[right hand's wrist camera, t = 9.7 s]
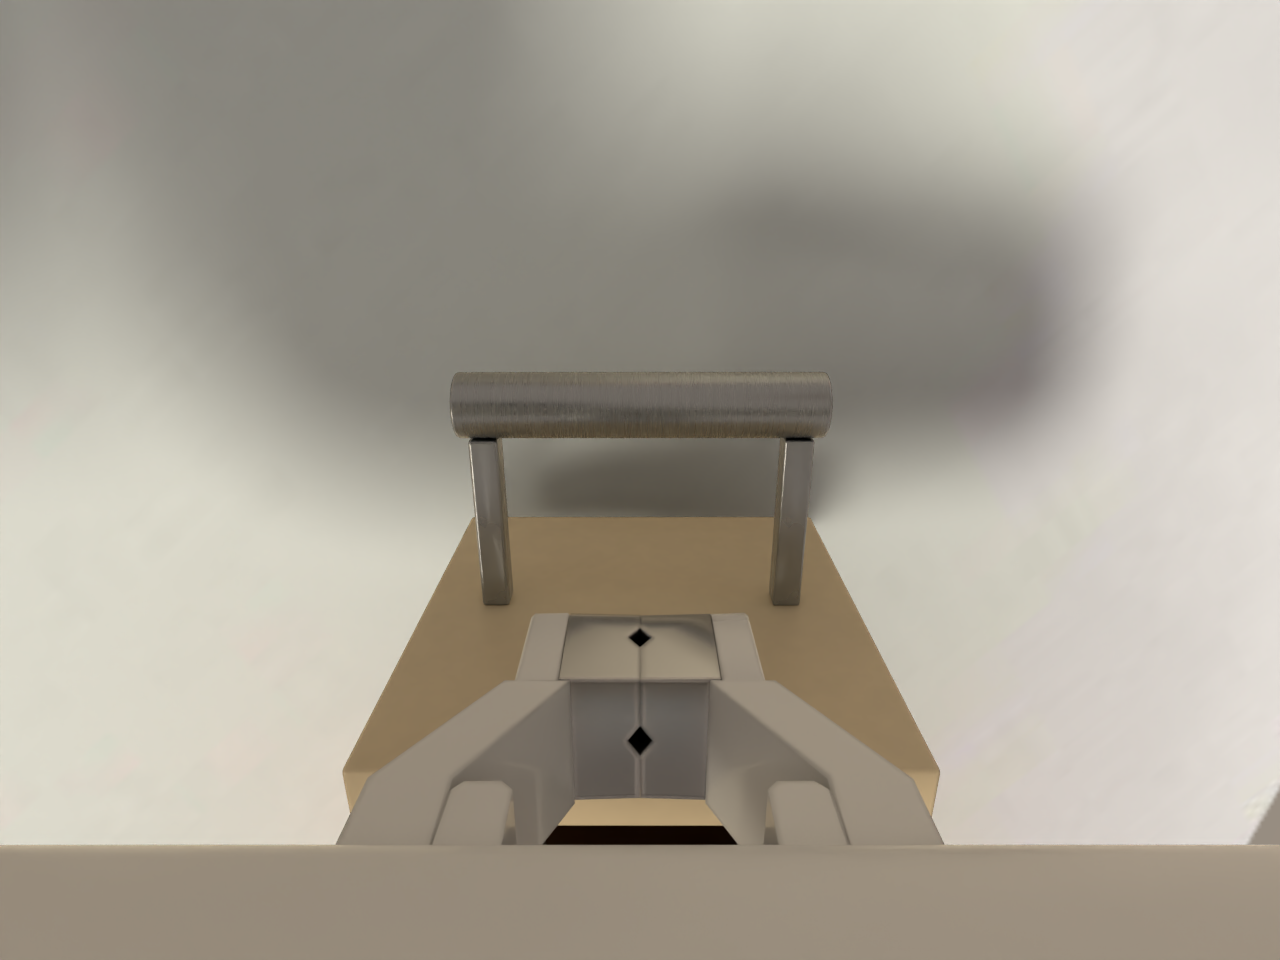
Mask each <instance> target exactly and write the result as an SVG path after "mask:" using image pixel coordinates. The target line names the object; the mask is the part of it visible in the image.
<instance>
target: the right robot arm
mask: <svg viewBox="0 0 1280 960" xmlns="http://www.w3.org/2000/svg"><path fill="white" fill-rule="evenodd" d="M624 798H655V799H691V800H705V803H706V804H707V806H708V807H709V808H710V810H711V811H712V812H713V813H714V815H715V816H716V817H717V818H718V820H719V821H720V822H721V824H722V825H723V826H724V827H725V829H726V830H727V831H728V832H729V834H730V835H731V836H732V838H733V839H734V840H735V841H736V843H737V844H738V845H542V844H543V843H544V842H545V841H546V839H547V838H548V837H549V836H550V834H551V833H552V832H553V830H554V829H555V828H556V827H557V825H558V824H559V823H560V822H561V820H562V819H563V818H564V817H565V815H566V814H567V813H568V812H569V810H570V809H571V808H572V806H573V805H574V804H575V800H589V799H624ZM0 960H1280V845H944V843H943V841H942V838H941V836H940V834H939V832H938V830H937V828H936V826H935V824H934V821H933V819H932V817H931V815H930V813H929V811H928V809H927V807H926V805H925V802H924V800H923V798H922V796H921V794H920V792H919V790H918V788H917V786H916V783H915V781H914V779H913V778H911V777H910V776H909V775H907V774H906V773H904V772H903V771H902V770H900V769H899V768H897V767H896V766H895V765H893V764H892V763H890V762H889V761H888V760H886V759H885V758H883V757H882V756H881V755H879V754H878V753H876V752H875V751H874V750H872V749H871V748H869V747H868V746H867V745H865V744H864V743H862V742H861V741H860V740H858V739H857V738H855V737H854V736H853V735H851V734H850V733H848V732H847V731H846V730H844V729H843V728H841V727H840V726H839V725H837V724H836V723H834V722H833V721H832V720H830V719H829V718H827V717H826V716H825V715H823V714H822V713H820V712H819V711H818V710H816V709H815V708H813V707H812V706H811V705H809V704H808V703H806V702H805V701H804V700H802V699H801V698H799V697H798V696H797V695H795V694H794V693H792V692H791V691H790V690H788V689H787V688H785V687H784V686H783V685H781V684H780V683H778V682H777V681H775V680H765V677H764V674H763V670H762V666H761V663H760V659H759V655H758V651H757V648H756V644H755V640H754V636H753V633H752V629H751V625H750V621H749V618H748V615H747V614H745V613H723V614H682V615H642V616H640V615H626V614H574V613H571V614H570V615H569V613H535V614H534V615H533V616H532V617H531V621H530V624H529V628H528V632H527V636H526V640H525V643H524V647H523V651H522V655H521V658H520V662H519V666H518V670H517V674H516V677H515V680H505V681H503V682H502V683H500V684H499V685H497V686H496V687H495V688H493V689H492V690H490V691H489V692H488V693H486V694H485V695H483V696H482V697H480V698H479V699H478V700H476V701H475V702H473V703H472V704H471V705H469V706H468V707H466V708H465V709H464V710H462V711H461V712H459V713H458V714H457V715H455V716H454V717H452V718H451V719H450V720H448V721H447V722H445V723H444V724H443V725H441V726H440V727H438V728H437V729H435V730H434V731H433V732H431V733H430V734H428V735H427V736H426V737H424V738H423V739H421V740H420V741H419V742H417V743H416V744H414V745H413V746H412V747H410V748H409V749H407V750H406V751H405V752H403V753H402V754H400V755H399V756H397V757H396V758H395V759H393V760H392V761H390V762H389V763H388V764H386V765H385V766H383V767H382V768H381V769H379V770H378V771H376V772H375V773H374V774H372V775H371V776H369V777H368V778H367V780H366V782H365V784H364V786H363V788H362V790H361V793H360V795H359V797H358V799H357V801H356V803H355V805H354V807H353V809H352V811H351V813H350V815H349V818H348V820H347V822H346V824H345V826H344V828H343V830H342V832H341V834H340V836H339V838H338V841H337V843H336V845H0Z"/></svg>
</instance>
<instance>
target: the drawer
mask: <svg viewBox="0 0 1280 960" xmlns="http://www.w3.org/2000/svg"><path fill="white" fill-rule="evenodd" d="M832 402H833V401H832V388H831V383H830V379H829V376H828V375H827V374H826V373H824V372H458V373H456V374H455V375H454V377H453V380H452V384H451V390H450V415H451V422H452V426H453V429H454V432H455V434H456V436H457V437H459V438H471V439H470V440H469V443H468V446H469V457H470V468H471V479H472V489H473V500H474V511H475V517H474V518H472V520H471V522H470V524H469V525H468V527H467V529H466V531H465V533H464V535H463V537H462V539H461V541H460V543H459V545H458V547H457V549H456V551H455V553H454V555H453V557H452V558H451V560H450V562H449V564H448V566H447V568H446V570H445V572H444V574H443V576H442V578H441V580H440V582H439V584H438V586H437V588H436V590H435V591H434V593H433V595H432V597H431V599H430V601H429V603H428V605H427V607H426V609H425V611H424V613H423V615H422V617H421V619H420V621H419V623H418V624H417V626H416V628H415V630H414V632H413V634H412V636H411V638H410V640H409V642H408V644H407V646H406V648H405V650H404V652H403V654H402V656H401V657H400V659H399V661H398V663H397V665H396V667H395V669H394V671H393V673H392V675H391V677H390V679H389V681H388V683H387V685H386V687H385V689H384V690H383V692H382V694H381V696H380V698H379V700H378V702H377V704H376V706H375V708H374V710H373V712H372V714H371V716H370V718H369V720H368V722H367V724H366V725H365V727H364V729H363V731H362V733H361V735H360V737H359V739H358V741H357V743H356V745H355V747H354V749H353V751H352V753H351V755H350V757H349V758H348V760H347V762H346V764H345V766H344V768H343V778H344V783H345V788H346V794H347V799H348V804H349V809H350V813H351V811H352V809H353V807H354V805H355V803H356V801H357V799H358V797H359V795H360V793H361V790H362V788H363V786H364V784H365V782H366V780H367V778H368V777H369V776H371V775H372V774H374V773H375V772H376V771H378V770H379V769H381V768H382V767H383V766H385V765H386V764H388V763H389V762H390V761H392V760H393V759H395V758H396V757H397V756H399V755H400V754H402V753H403V752H405V751H406V750H407V749H409V748H410V747H412V746H413V745H414V744H416V743H417V742H419V741H420V740H421V739H423V738H424V737H426V736H427V735H428V734H430V733H431V732H433V731H434V730H435V729H437V728H438V727H440V726H441V725H443V724H444V723H445V722H447V721H448V720H450V719H451V718H452V717H454V716H455V715H457V714H458V713H459V712H461V711H462V710H464V709H465V708H466V707H468V706H469V705H471V704H472V703H473V702H475V701H476V700H478V699H479V698H480V697H482V696H483V695H485V694H486V693H488V692H489V691H490V690H492V689H493V688H495V687H496V686H497V685H499V684H500V683H502V682H503V681H505V680H515V677H516V674H517V670H518V666H519V662H520V658H521V655H522V651H523V647H524V643H525V640H526V636H527V632H528V628H529V624H530V621H531V617H532V616H533V615H534V614H535V613H569V615H570V614H571V613H574V614H626V615H640V616H642V615H682V614H723V613H745V614H747V615H748V618H749V621H750V625H751V629H752V633H753V636H754V640H755V644H756V648H757V651H758V655H759V659H760V663H761V666H762V670H763V674H764V677H765V680H775V681H777V682H778V683H780V684H781V685H783V686H784V687H785V688H787V689H788V690H790V691H791V692H792V693H794V694H795V695H797V696H798V697H799V698H801V699H802V700H804V701H805V702H806V703H808V704H809V705H811V706H812V707H813V708H815V709H816V710H818V711H819V712H820V713H822V714H823V715H825V716H826V717H827V718H829V719H830V720H832V721H833V722H834V723H836V724H837V725H839V726H840V727H841V728H843V729H844V730H846V731H847V732H848V733H850V734H851V735H853V736H854V737H855V738H857V739H858V740H860V741H861V742H862V743H864V744H865V745H867V746H868V747H869V748H871V749H872V750H874V751H875V752H876V753H878V754H879V755H881V756H882V757H883V758H885V759H886V760H888V761H889V762H890V763H892V764H893V765H895V766H896V767H897V768H899V769H900V770H902V771H903V772H904V773H906V774H907V775H909V776H910V777H911V778H913V779H914V781H915V783H916V786H917V788H918V790H919V792H920V794H921V796H922V798H923V800H924V802H925V805H926V807H927V809H928V811H929V813H930V815H931V817H932V812H933V807H934V802H935V797H936V791H937V786H938V781H939V776H940V770H939V768H938V766H937V764H936V762H935V760H934V758H933V756H932V754H931V752H930V750H929V748H928V746H927V744H926V742H925V740H924V738H923V736H922V735H921V733H920V731H919V729H918V727H917V725H916V723H915V721H914V719H913V717H912V715H911V713H910V711H909V709H908V707H907V705H906V703H905V701H904V699H903V698H902V696H901V694H900V692H899V690H898V688H897V686H896V684H895V682H894V680H893V678H892V676H891V674H890V672H889V670H888V668H887V666H886V664H885V662H884V661H883V659H882V657H881V655H880V653H879V651H878V649H877V647H876V645H875V643H874V641H873V639H872V637H871V635H870V633H869V631H868V629H867V627H866V625H865V624H864V622H863V620H862V618H861V616H860V614H859V612H858V610H857V608H856V606H855V604H854V602H853V600H852V598H851V596H850V594H849V592H848V590H847V588H846V587H845V585H844V583H843V581H842V579H841V577H840V575H839V573H838V571H837V569H836V567H835V565H834V563H833V561H832V559H831V557H830V555H829V553H828V551H827V550H826V548H825V546H824V544H823V542H822V540H821V538H820V536H819V534H818V532H817V530H816V528H815V526H814V524H813V522H812V520H811V518H809V517H808V507H809V496H810V485H811V474H812V463H813V452H814V440H813V439H812V438H823V437H825V436H826V435H827V433H828V430H829V427H830V423H831V417H832ZM502 438H780V447H779V460H778V474H777V487H776V501H775V515H774V517H508V513H507V500H506V486H505V473H504V459H503V446H502ZM542 845H738V844H737V843H736V841H735V840H734V839H733V838H732V836H731V835H730V834H729V832H728V831H727V830H726V829H725V827H724V826H723V825H722V824H721V822H720V821H719V820H718V818H717V817H716V816H715V815H714V813H713V812H712V811H711V810H710V808H709V807H708V806H707V804H706V803H705V800H691V799H655V798H624V799H589V800H575V804H574V805H573V806H572V808H571V809H570V810H569V812H568V813H567V814H566V815H565V817H564V818H563V819H562V820H561V822H560V823H559V824H558V825H557V827H556V828H555V829H554V830H553V832H552V833H551V834H550V836H549V837H548V838H547V839H546V841H545V842H544V843H543V844H542Z"/></svg>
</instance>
